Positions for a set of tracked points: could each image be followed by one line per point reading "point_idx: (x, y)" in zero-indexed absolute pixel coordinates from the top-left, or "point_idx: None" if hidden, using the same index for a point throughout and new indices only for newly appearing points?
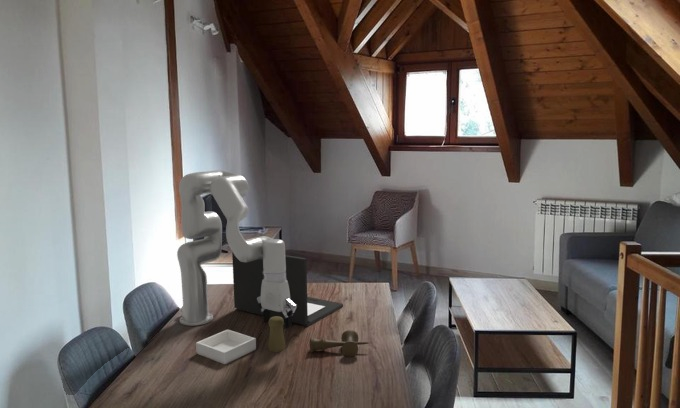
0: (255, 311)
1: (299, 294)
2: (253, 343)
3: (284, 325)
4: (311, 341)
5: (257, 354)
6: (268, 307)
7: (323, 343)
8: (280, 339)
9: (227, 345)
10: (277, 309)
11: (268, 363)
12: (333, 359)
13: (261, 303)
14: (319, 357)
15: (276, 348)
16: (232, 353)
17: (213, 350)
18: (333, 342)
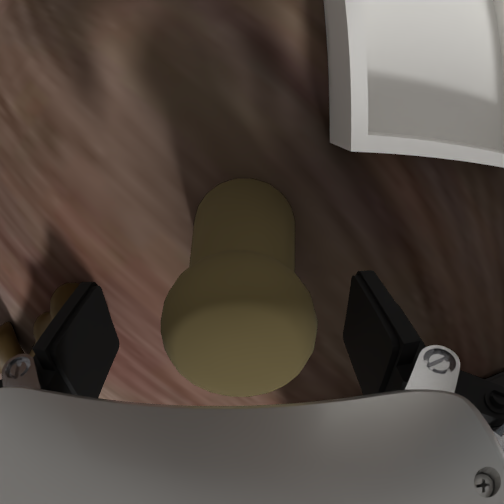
0: (500, 378)
1: None
2: (341, 124)
3: (77, 297)
4: (51, 314)
5: (271, 97)
6: (259, 440)
7: (34, 330)
8: (192, 246)
9: (468, 90)
10: (17, 412)
11: (132, 65)
12: (6, 285)
13: (482, 438)
14: (35, 270)
15: (207, 198)
16: None
17: None
18: (33, 354)
